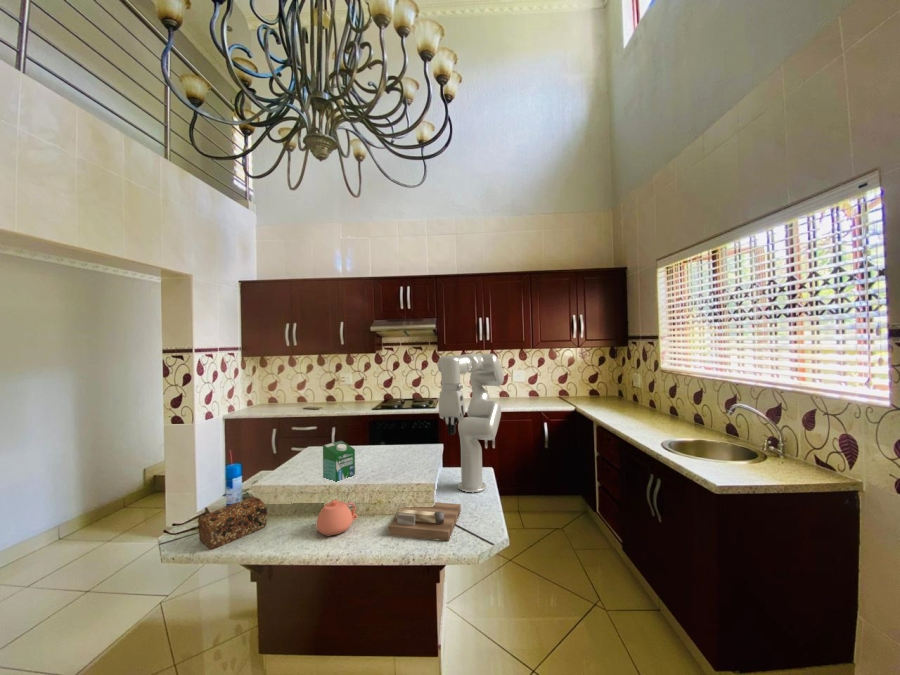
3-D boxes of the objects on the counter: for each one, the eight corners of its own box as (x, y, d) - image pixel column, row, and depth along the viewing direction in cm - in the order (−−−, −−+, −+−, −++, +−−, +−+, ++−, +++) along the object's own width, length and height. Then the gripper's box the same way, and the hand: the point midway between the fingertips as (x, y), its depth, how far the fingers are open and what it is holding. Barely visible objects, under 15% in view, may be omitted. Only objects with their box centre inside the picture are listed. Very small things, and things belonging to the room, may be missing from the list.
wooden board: (409, 507, 141) (408, 492, 141) (460, 512, 136) (460, 496, 136) (388, 535, 120) (388, 517, 121) (448, 541, 116) (448, 522, 116)
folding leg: (444, 519, 123) (444, 511, 123) (442, 524, 120) (442, 515, 120) (400, 515, 127) (400, 507, 127) (396, 519, 124) (396, 511, 124)
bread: (254, 519, 134) (254, 493, 134) (268, 528, 127) (268, 499, 128) (197, 542, 119) (197, 511, 119) (209, 552, 112) (209, 520, 113)
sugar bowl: (314, 526, 127) (314, 497, 128) (353, 517, 134) (353, 490, 134) (318, 542, 116) (318, 511, 117) (361, 532, 123) (360, 502, 123)
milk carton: (336, 513, 137) (336, 448, 138) (323, 507, 143) (322, 444, 144) (355, 505, 144) (354, 443, 145) (342, 499, 150) (341, 440, 151)
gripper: (471, 387, 140) (472, 434, 140) (440, 386, 148) (441, 430, 148) (462, 389, 134) (463, 438, 133) (430, 388, 142) (430, 434, 141)
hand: (451, 434), depth 140 cm, fingers closed
